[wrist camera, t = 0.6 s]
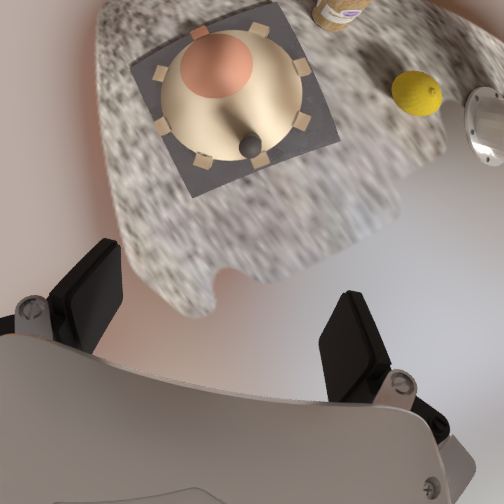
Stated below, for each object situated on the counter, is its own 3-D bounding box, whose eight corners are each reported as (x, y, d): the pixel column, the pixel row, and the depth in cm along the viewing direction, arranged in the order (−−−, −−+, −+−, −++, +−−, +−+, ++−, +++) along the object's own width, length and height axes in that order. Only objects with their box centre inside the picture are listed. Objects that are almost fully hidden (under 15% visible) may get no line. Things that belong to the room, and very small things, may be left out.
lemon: (379, 71, 25) (410, 63, 18) (416, 77, 24) (451, 72, 17) (383, 113, 28) (415, 115, 20) (419, 116, 27) (455, 121, 20)
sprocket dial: (273, 6, 21) (276, -19, 15) (333, 137, 28) (352, 144, 22) (135, 69, 25) (106, 61, 18) (194, 191, 32) (178, 211, 26)
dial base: (276, 5, 22) (276, 1, 21) (337, 140, 30) (340, 141, 29) (133, 69, 26) (129, 68, 25) (194, 195, 34) (192, 198, 33)
